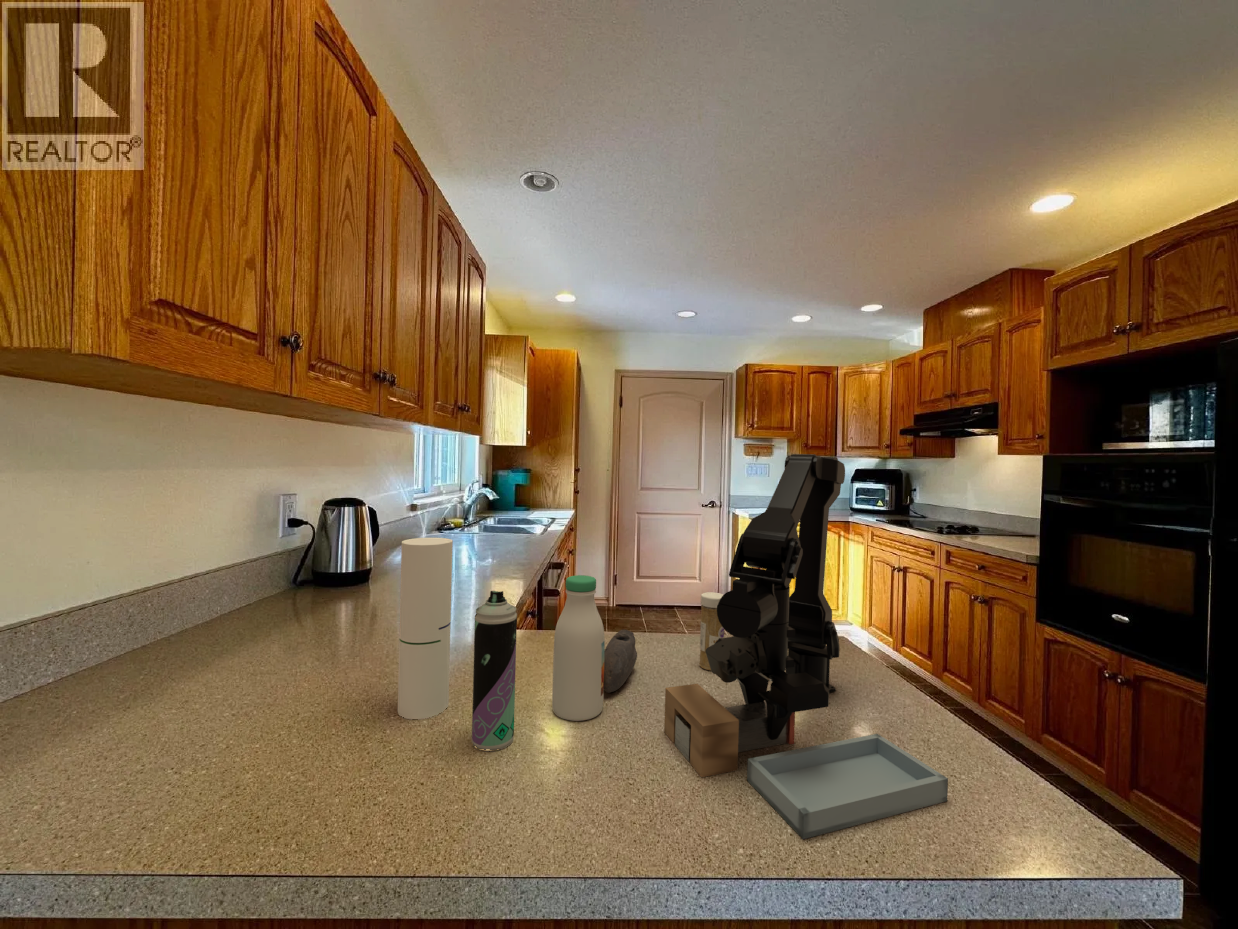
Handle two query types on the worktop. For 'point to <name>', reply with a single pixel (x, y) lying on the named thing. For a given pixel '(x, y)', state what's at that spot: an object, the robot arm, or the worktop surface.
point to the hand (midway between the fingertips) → (763, 731)
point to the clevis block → (704, 729)
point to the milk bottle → (578, 654)
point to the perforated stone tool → (619, 660)
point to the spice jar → (709, 625)
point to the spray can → (494, 673)
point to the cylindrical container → (424, 627)
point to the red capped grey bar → (741, 729)
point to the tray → (844, 784)
